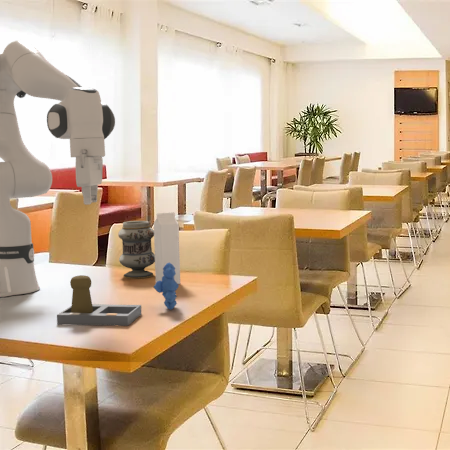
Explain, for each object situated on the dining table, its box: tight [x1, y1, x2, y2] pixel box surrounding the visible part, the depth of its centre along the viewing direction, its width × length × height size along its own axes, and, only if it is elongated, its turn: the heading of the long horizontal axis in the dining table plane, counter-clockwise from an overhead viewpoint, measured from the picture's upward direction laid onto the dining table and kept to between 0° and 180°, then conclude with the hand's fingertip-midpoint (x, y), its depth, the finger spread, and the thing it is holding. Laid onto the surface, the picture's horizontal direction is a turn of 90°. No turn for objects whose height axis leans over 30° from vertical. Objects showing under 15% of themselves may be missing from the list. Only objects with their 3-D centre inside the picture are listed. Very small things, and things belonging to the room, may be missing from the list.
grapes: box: [153, 263, 180, 310], centre depth 199 cm, size 12×7×12 cm, turn 5°
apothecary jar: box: [118, 220, 155, 280], centre depth 247 cm, size 12×12×18 cm
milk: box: [153, 212, 181, 285], centre depth 233 cm, size 6×6×22 cm
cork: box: [69, 275, 93, 313], centre depth 189 cm, size 6×6×11 cm
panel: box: [56, 303, 143, 327], centre depth 189 cm, size 18×12×3 cm, turn 81°
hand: (90, 203), depth 196 cm, fingers open, 8 cm apart
